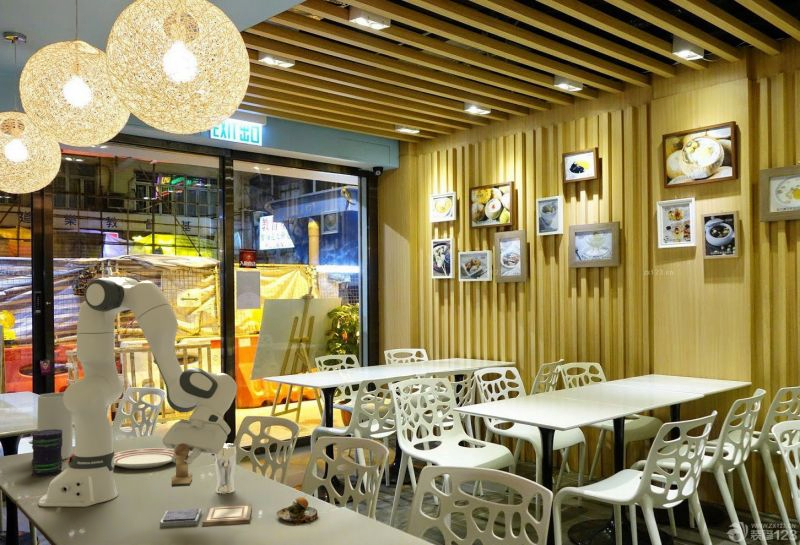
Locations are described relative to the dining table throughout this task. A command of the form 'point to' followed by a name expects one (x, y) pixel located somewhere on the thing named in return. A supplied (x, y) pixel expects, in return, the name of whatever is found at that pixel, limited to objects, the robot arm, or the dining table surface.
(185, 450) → the stamp
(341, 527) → the dining table surface
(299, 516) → the plate of salad
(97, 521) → the dining table surface
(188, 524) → the ink pad
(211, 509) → the board
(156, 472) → the dining table surface
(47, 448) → the storage jar
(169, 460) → the dinner plate
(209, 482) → the dining table surface
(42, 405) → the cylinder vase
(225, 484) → the beer glass
